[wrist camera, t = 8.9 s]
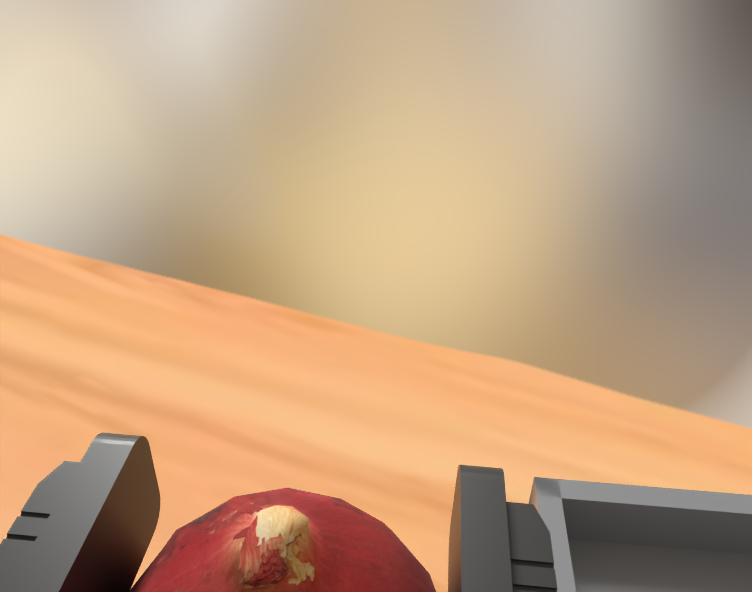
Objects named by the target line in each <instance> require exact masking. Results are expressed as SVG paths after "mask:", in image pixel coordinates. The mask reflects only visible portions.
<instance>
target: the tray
mask: <svg viewBox="0 0 752 592" xmlns="http://www.w3.org/2000/svg"><path fill="white" fill-rule="evenodd" d="M529 504H534V506H535V508H536V509H537V511H538V513H539V515H540V516H541V518H542V520H543V521H544V523H545V525H546V526H547V528H548V530H549V531H550V536H551V544H552V551H553V559H554V569H555V574H556V581H557V592H752V495H744V494H732V493H720V492H707V491H695V490H683V489H671V488H659V487H647V486H635V485H623V484H610V483H598V482H586V481H574V480H562V479H550V478H538V477H534V481H533V486H532V491H531V495H530V500H529Z"/></svg>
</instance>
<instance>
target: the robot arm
mask: <svg viewBox="0 0 752 592" xmlns="http://www.w3.org/2000/svg"><path fill="white" fill-rule="evenodd" d="M159 511H160V492H159V488H158V483H157V478H156V474H155V469H154V465H153V460H152V456H151V451H150V446H149V442H148V440H147V438H146V437H144V436H135V435H123V434H112V433H100V434H98V435H97V436H96V437H95V438H94V440H93V441H92V443H91V445H90V447H89V448H88V450H87V452H86V453H85V455H84V457H83V459H82V460H81V462H69V461H64V462H63V463H62V464H61V465H60V466H58V467H57V468H56V469H55V470H54V471H53V472H51V473H50V474H49V475H48V476H47V477H46V478H44V479H43V480H42V481H41V482H40V483H39V484H38V485H37V486H36V488H35V490H34V491H33V493H32V494H31V496H30V498H29V499H28V501H27V502H26V504H25V506H24V507H23V509H22V510H21V516H20V517H17V518H16V520H15V522H14V523H13V525H12V526H11V528H10V530H9V531H8V533H7V538H6V539H3V541H2V543H1V544H0V592H129V591H130V589H131V586H132V584H133V582H134V579H135V577H136V574H137V572H138V570H139V567H140V565H141V563H142V560H143V558H144V555H145V553H146V551H147V548H148V546H149V543H150V541H151V539H152V536H153V534H154V531H155V529H156V525H157V522H158V517H159ZM448 592H557V581H556V574H555V569H554V559H553V551H552V544H551V536H550V531H549V530H548V528H547V526H546V525H545V523H544V521H543V520H542V518H541V516H540V515H539V513H538V511H537V509H536V508H535V506H534V504H523V503H512V502H506V495H505V481H504V472H503V469H501V468H490V467H479V466H467V465H459V467H458V472H457V480H456V487H455V495H454V502H453V510H452V517H451V526H450V538H449V567H448Z"/></svg>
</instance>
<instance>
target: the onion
mask: <svg viewBox="0 0 752 592" xmlns="http://www.w3.org/2000/svg"><path fill="white" fill-rule="evenodd" d="M129 592H436V590H435V588H434V585H433V582H432V579H431V577H430V574H429V573H428V572H427V571H426V569H425V568H424V567H423V566H422V565H421V564H420V562H419V561H418V560H417V559H416V558H415V557H414V556H413V554H412V553H411V552H410V551H409V550H408V549H407V548H406V546H405V545H404V544H403V543H402V542H401V541H400V539H399V538H398V537H397V536H396V535H395V534H394V533H393V531H392V530H391V529H389V528H388V527H387V526H386V525H385V524H384V523H383V522H381V521H380V520H378V519H376V518H374V517H372V516H371V515H369V514H367V513H365V512H363V511H362V510H360V509H358V508H356V507H355V506H353V505H351V504H349V503H347V502H346V501H344V500H342V499H339V498H334V497H330V496H325V495H320V494H315V493H310V492H305V491H300V490H296V489H291V488H284V489H278V490H272V491H266V492H260V493H254V494H248V495H242V496H236V497H233V498H232V499H230V500H228V501H227V502H225V503H223V504H222V505H220V506H218V507H216V508H215V509H213V510H211V511H210V512H208V513H206V514H204V515H203V516H201V517H199V518H197V519H196V520H194V521H192V522H190V523H188V524H186V525H185V526H183V527H181V528H179V529H177V530H176V531H175V532H174V534H173V535H172V537H171V538H170V539H169V541H168V542H167V544H166V545H165V547H164V548H163V549H162V551H161V552H160V553H159V554H158V556H157V557H156V558H155V559H154V561H153V562H152V563H151V564H150V566H149V567H148V568H147V570H146V571H145V572H144V573H143V575H142V576H141V577H140V578H139V580H138V581H137V582H136V583H135V585H134V586H133V587H132V588H131V590H130V591H129Z"/></svg>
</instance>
